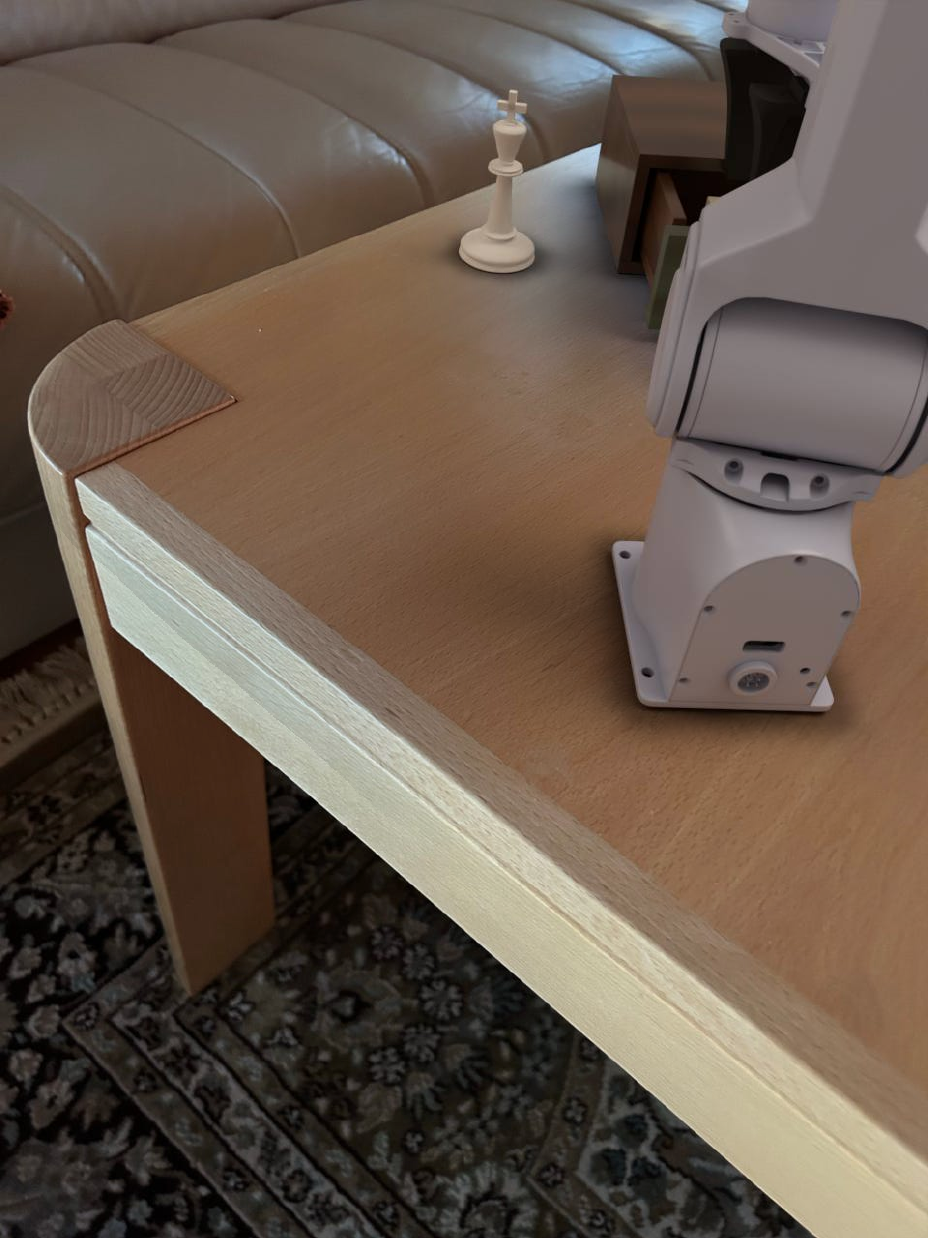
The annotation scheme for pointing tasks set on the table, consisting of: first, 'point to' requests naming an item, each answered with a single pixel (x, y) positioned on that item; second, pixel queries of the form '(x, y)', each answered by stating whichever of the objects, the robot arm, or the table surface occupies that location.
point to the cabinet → (653, 148)
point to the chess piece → (501, 203)
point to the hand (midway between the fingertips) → (753, 200)
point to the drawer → (672, 226)
